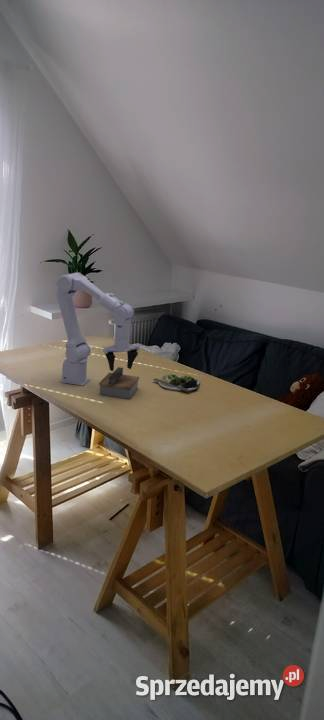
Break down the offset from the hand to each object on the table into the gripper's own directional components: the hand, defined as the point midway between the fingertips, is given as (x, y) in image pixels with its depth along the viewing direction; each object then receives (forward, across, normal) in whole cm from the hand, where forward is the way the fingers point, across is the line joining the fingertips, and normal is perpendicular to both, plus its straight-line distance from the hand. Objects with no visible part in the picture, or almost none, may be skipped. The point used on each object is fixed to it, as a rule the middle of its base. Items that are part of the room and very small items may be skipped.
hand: (120, 369), depth 200 cm
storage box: (+10, 0, 0) cm, 10 cm away
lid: (+6, 0, 0) cm, 6 cm away
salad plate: (+10, +28, -2) cm, 29 cm away
